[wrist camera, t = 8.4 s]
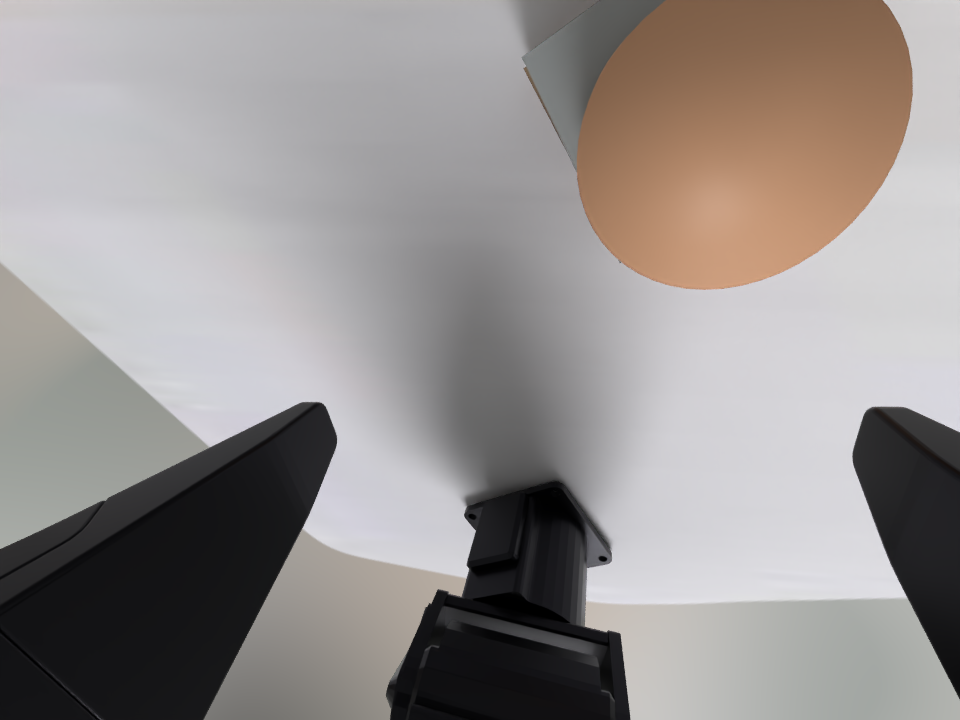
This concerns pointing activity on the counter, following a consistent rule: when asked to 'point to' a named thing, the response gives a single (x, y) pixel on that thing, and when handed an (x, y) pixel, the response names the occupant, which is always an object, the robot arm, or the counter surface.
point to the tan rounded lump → (741, 134)
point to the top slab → (581, 61)
